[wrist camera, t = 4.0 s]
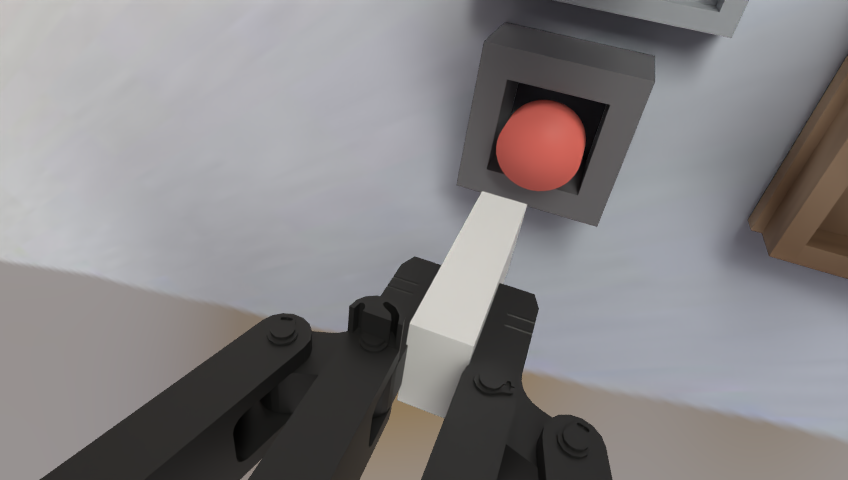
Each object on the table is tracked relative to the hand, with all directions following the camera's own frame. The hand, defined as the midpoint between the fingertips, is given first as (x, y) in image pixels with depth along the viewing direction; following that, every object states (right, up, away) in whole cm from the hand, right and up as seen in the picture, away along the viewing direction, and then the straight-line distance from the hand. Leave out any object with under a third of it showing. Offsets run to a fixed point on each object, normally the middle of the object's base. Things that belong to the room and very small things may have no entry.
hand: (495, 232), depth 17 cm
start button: (+3, +4, +6) cm, 8 cm away
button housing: (+4, +6, +9) cm, 12 cm away
